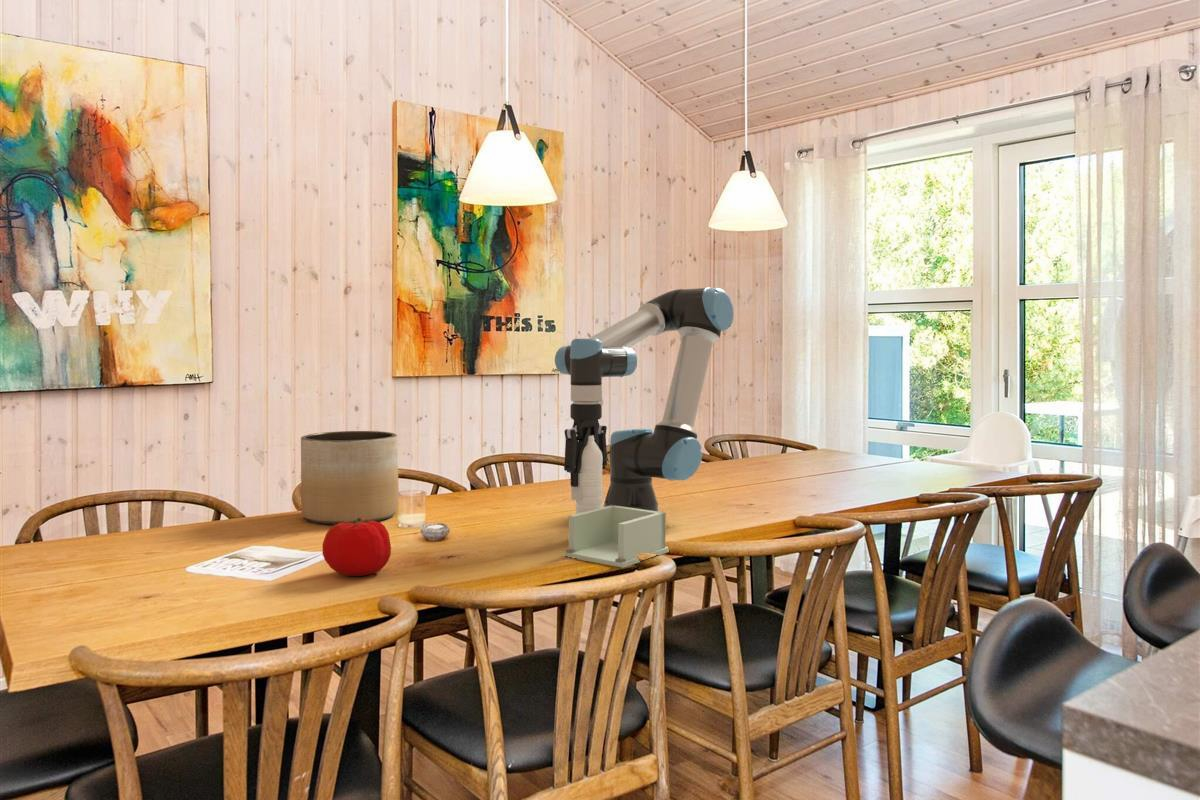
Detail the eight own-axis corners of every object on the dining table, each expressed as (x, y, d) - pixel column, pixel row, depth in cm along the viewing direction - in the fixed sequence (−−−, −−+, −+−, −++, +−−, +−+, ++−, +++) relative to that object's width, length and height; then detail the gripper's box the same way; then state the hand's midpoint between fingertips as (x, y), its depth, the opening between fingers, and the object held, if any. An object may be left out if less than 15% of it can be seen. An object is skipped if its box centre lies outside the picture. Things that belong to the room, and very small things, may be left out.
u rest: (612, 541, 208) (612, 504, 207) (669, 551, 198) (669, 512, 198) (564, 556, 194) (564, 516, 193) (623, 567, 184) (623, 525, 183)
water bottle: (607, 539, 211) (607, 435, 209) (582, 541, 208) (581, 436, 206) (592, 531, 219) (592, 431, 217) (568, 534, 216) (568, 433, 214)
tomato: (392, 579, 175) (392, 522, 174) (322, 585, 171) (321, 526, 170) (389, 564, 187) (388, 511, 186) (323, 569, 183) (322, 514, 182)
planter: (413, 519, 234) (412, 436, 233) (317, 530, 220) (315, 443, 218) (379, 504, 255) (378, 428, 254) (290, 514, 241) (288, 434, 239)
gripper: (598, 399, 221) (598, 490, 222) (547, 404, 205) (548, 501, 207) (622, 401, 216) (622, 493, 218) (572, 405, 201) (572, 505, 202)
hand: (586, 497), depth 212 cm, fingers closed on water bottle, 6 cm apart
